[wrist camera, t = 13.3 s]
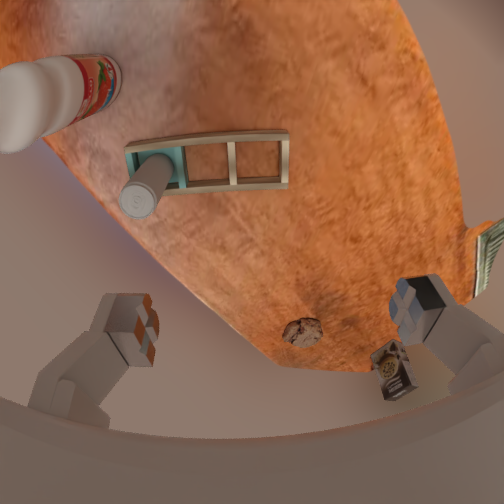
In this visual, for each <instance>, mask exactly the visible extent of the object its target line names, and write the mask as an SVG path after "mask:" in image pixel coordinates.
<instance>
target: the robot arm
mask: <svg viewBox="0 0 504 504" xmlns="http://www.w3.org/2000/svg"><path fill="white" fill-rule="evenodd" d="M396 289H397V291H396V292H395V293H394V294H393V295H392V297H391V300H390V302H389V312H390V316H391V319H392V321H393V322H394V323H395V324H397V325H398V326H399V327H398V331H397V332H398V334H399V337H400V339H401V341H402V343H403V346H409V345H414V344H419V343H423V344H424V345H425V346H426V347H427V348H428V349H429V350H430V351H431V352H432V353H433V354H434V355H435V356H436V357H438V358H439V359H440V360H441V361H442V362H443V363H444V364H445V365H446V366H447V367H448V368H449V369H450V370H451V371H452V372H453V373H454V374H455V375H456V376H455V377H454V378H453V379H452V380H451V381H450V382H449V384H448V388H449V391H450V394H451V395H450V396H448V397H445V398H443V399H440V400H438V401H435V402H432V403H429V404H427V405H424V406H421V407H418V408H415V409H412V410H408V411H405V412H402V413H399V414H395V415H392V416H388V417H384V418H381V419H377V420H373V421H369V422H364V423H360V424H355V425H351V426H346V427H341V428H335V429H330V430H324V431H318V432H311V433H303V434H295V435H286V436H276V437H262V438H245V439H244V438H242V439H199V438H198V439H197V438H180V437H165V436H156V435H147V434H139V433H132V432H125V431H118V430H113V429H109V423H110V417H109V415H108V414H107V413H106V412H105V411H103V410H102V409H101V408H100V407H99V405H100V403H101V402H102V401H103V400H104V398H105V397H106V396H107V395H108V393H109V392H110V391H111V390H112V388H113V387H114V386H115V384H116V383H117V382H118V381H119V379H120V378H121V377H122V375H124V373H125V372H126V371H127V370H128V368H129V366H135V367H153V361H154V356H155V348H154V346H153V343H154V342H155V341H156V340H157V339H158V335H159V320H158V316H157V313H156V311H155V310H153V309H152V308H151V305H152V300H151V298H150V295H149V294H147V293H145V294H144V293H106V294H105V295H103V297H102V299H101V301H100V304H99V306H98V309H97V311H96V314H95V316H94V319H93V322H92V324H91V326H90V329H89V331H84V333H82V334H81V335H80V336H79V337H78V338H76V339H75V340H74V341H73V342H72V343H71V344H70V345H69V346H67V347H66V348H65V349H64V350H63V351H62V352H61V353H60V354H59V355H57V356H56V357H55V358H54V359H53V360H52V361H51V362H50V363H49V364H48V365H46V366H45V367H44V368H43V369H42V370H41V371H40V372H39V373H38V376H37V379H36V381H35V385H34V387H33V390H32V394H31V397H30V399H29V403H28V406H27V407H26V406H23V405H20V404H18V403H15V402H13V401H10V400H7V399H5V398H3V397H0V504H504V334H503V333H502V332H500V331H499V330H498V329H496V328H495V327H493V326H492V325H491V324H489V323H488V322H486V321H485V320H483V319H482V318H480V317H479V316H478V315H476V314H475V313H473V312H472V311H470V310H469V309H467V308H466V307H464V306H463V305H461V304H460V305H458V304H457V302H456V301H455V299H454V298H453V296H452V295H451V293H450V292H449V290H448V289H447V287H446V286H445V284H444V283H443V281H442V280H441V278H440V277H439V276H438V275H437V274H435V273H434V274H426V275H419V276H411V277H402V278H400V279H399V280H398V282H397V284H396Z"/></svg>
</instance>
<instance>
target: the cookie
mask: <svg viewBox="0 0 504 504" xmlns="http://www.w3.org/2000/svg"><path fill="white" fill-rule="evenodd" d="M320 326H321V324H320V321H317V320H313V319H307V318H306V319H305V318H304V319H303V318H301V319H300V320H297V321H293V322H291V323H289V324H288V325H287V327H286V329H285V330H284V333H283V339H284V342H289V343H290V342H291V344H292V345H294V346H298V347H300V348H304V347H305V348H306V347H309V346H312V345H315V344H316V343H317V342H319V341H320V340H321V337H323V332H322V331H321V330H322V329H321V327H320Z"/></svg>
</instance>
